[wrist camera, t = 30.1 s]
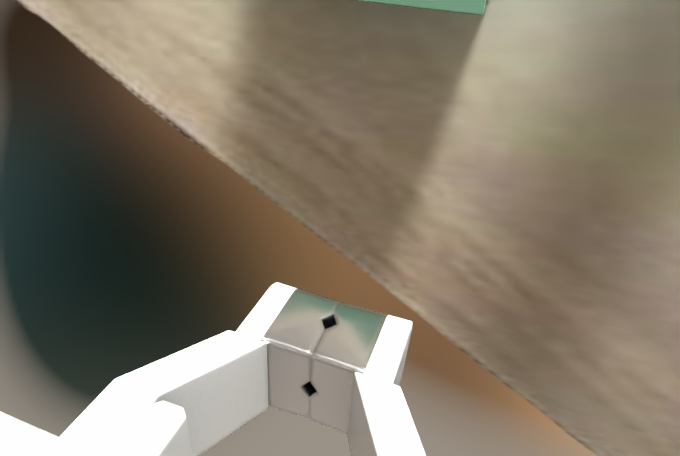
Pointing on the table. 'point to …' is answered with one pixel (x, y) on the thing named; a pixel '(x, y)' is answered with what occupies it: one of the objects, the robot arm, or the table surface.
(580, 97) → the table surface
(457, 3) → the cover
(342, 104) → the table surface
